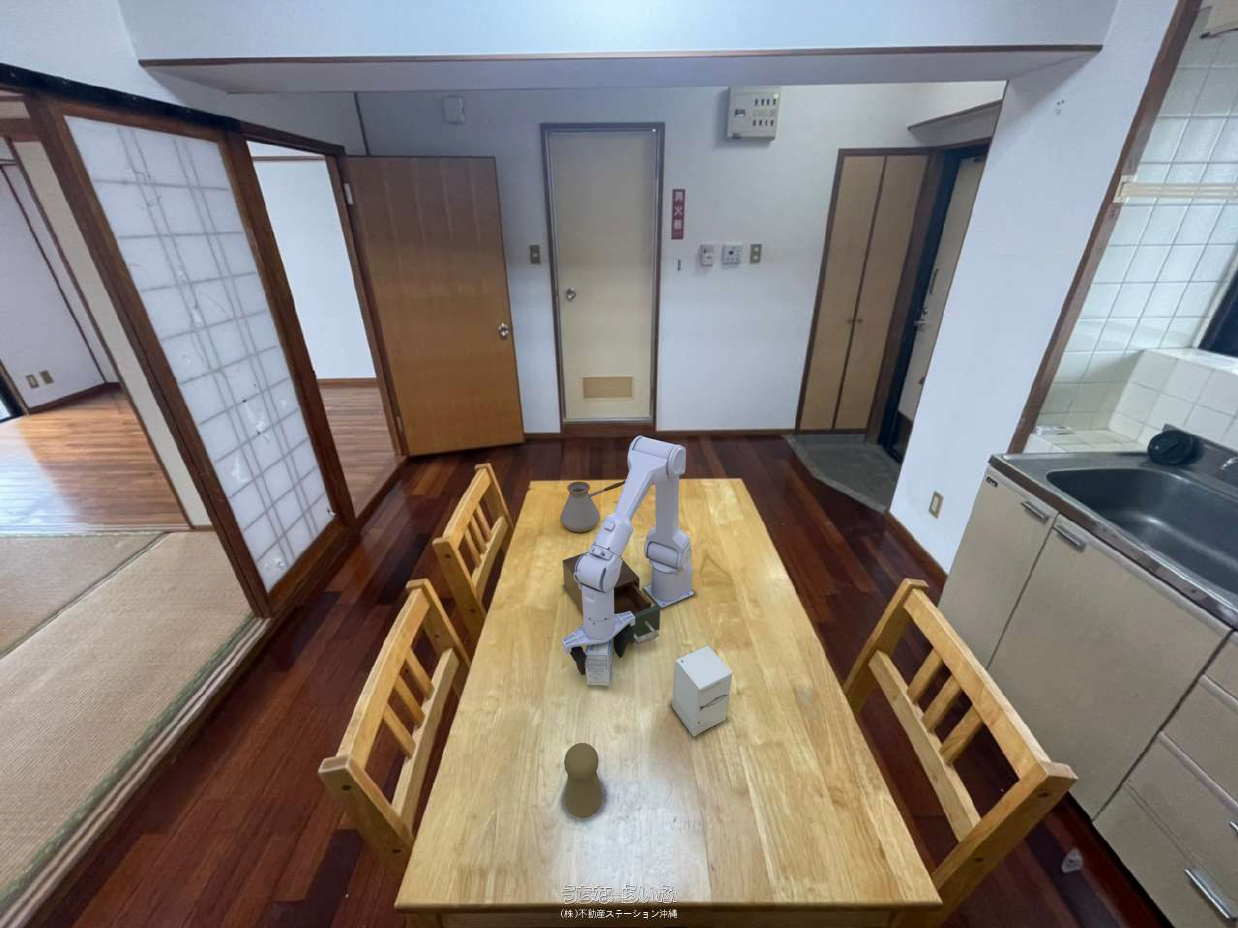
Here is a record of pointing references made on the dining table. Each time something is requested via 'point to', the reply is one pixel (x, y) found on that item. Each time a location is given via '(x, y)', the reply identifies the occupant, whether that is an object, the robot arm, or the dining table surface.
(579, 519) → the coffee pot
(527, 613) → the dining table surface
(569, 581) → the cabinet
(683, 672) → the white packaging box
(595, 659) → the medicine box
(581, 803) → the brown pawn figure
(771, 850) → the dining table surface
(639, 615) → the drawer
